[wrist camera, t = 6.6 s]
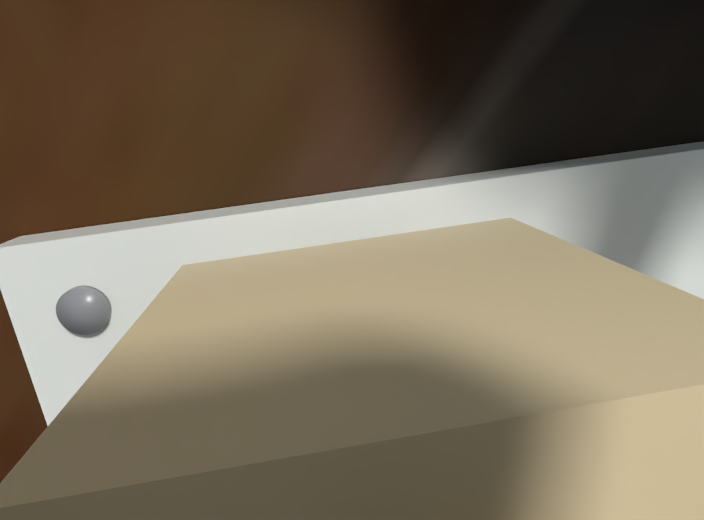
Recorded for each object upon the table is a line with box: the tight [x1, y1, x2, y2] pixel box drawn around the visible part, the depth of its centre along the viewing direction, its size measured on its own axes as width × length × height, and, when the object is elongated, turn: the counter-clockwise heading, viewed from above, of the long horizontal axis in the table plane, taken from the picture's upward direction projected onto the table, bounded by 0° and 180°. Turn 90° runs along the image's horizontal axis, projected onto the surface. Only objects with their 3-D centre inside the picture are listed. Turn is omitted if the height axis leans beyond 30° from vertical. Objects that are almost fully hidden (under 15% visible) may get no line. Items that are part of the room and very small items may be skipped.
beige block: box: [0, 218, 704, 520], centre depth 6 cm, size 6×6×7 cm
